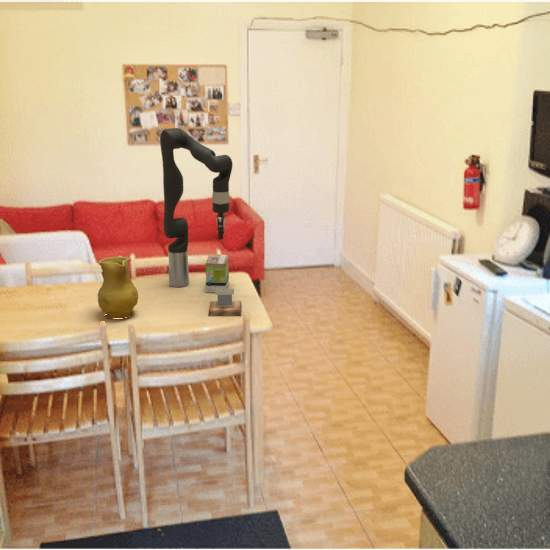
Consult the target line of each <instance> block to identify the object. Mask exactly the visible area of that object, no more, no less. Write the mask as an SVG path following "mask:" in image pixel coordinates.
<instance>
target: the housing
mask: <svg viewBox="0 0 550 550" xmlns="http://www.w3.org/2000/svg"><path fill="white" fill-rule="evenodd" d="M214 294H215V296H217V300H216V308H234V301H235V300H233V295H234V294H235V288H227V289H216V291H215V292H214Z"/></svg>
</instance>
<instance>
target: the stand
mask: <svg viewBox="0 0 550 550" xmlns="http://www.w3.org/2000/svg"><path fill="white" fill-rule="evenodd" d="M216 301H217V300H216ZM216 301H214V300H213V301H212V300H211V301H209V307H208V317H241V316H242V301H240V300H233V301H234V308H216Z"/></svg>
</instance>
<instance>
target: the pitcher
mask: <svg viewBox="0 0 550 550" xmlns="http://www.w3.org/2000/svg"><path fill="white" fill-rule="evenodd" d="M130 261H131V258H130V257H128V256H110V257H104V258H103V259H100V260H99V261H98V264H99V266H100V267H101V271H102V272H101V274H102V278H103V281H102V284H101V287H100V288H99V289H98V293H97V304H98V307H99V308H100V309H101V311H102V312H103V313H104V315H105V314H107V315H105V316H104V318H106V317H107V318H125V317H129V316H131V317H132V316H133V315H134V311H133V309H134V308H135V307H136V306H137V305H138V303H139V302H138V300H139V291H138V289H137V287H136V286H135V285H134V283H133V281H132V279H131V276H130V275H131V274H130V267H129V266H130V263H131V262H130ZM132 314H133V315H132ZM107 318H106V319H107Z"/></svg>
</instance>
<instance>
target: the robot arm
mask: <svg viewBox="0 0 550 550" xmlns="http://www.w3.org/2000/svg"><path fill="white" fill-rule="evenodd" d="M159 144H160V145H159V146H160V152H161V159H162V160H161V161H162V175H163V176H162V177H163V178H162V179H163V181H162V183H163V186H162V187H163V203H164V205H163V206H164V208H163V233H164V236H165V237H166V238H167V239H175V238H176V239H175V240H174V241H172V242H171V243H170V244H168V246H167V248H168V251H167V254H168V283H169V285H168V287H173V286H174V287H175V288H184V287H187V286H189V284H190V276H189V275H190V274H189V256H188V254H189V252H188V248H189V224H188V220H187V218H185V217H182V216H181V217H180V216H179V217H175V211H176V208H177V206H178V204H179V202H180V200H181V198H182V196H183V195H184V177H183V174H182V172H181V171H180V170H181V169H179V167H178V165H177V164H176V161H175V154H174V150H178V149H184V150H187V151H189V153H190V155H191V156H192V158H194V159H195V160H196V161H198V162H200V164H201V163H202V164H203V165H204V166H205V167H206V168H207V169H208V170H209V172H210V171H211V172H212V173H218V175H217V176H216V177H214V178H213V179H212V196H211V197H212V205H211V206H212V212H213V213H216V216H215V217H216V226H217V234H218V235H217V237H218V240H223V239H224V234H225V227H226V218H227V215H226V213H229V212H230V184H229V183H230V178H231V175H232V171H233V160H232V158H231V157H230V155H228V154H221V155H216V152H215V151H214V150H212V149H211V148H209V147H207V146H205V145H203V144H202V143H200V142H199V141H197V140H196V139H194V138H193V137H192V136H191V135H189V133H187V132H186V131H184V130H183V129H181V128H180V127H179V128H178V127H174V128H167V129H166V128H165V129H163V130H162V131H161V133H160V136H159ZM174 217H175V218H174ZM174 287H173V288H174Z"/></svg>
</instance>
